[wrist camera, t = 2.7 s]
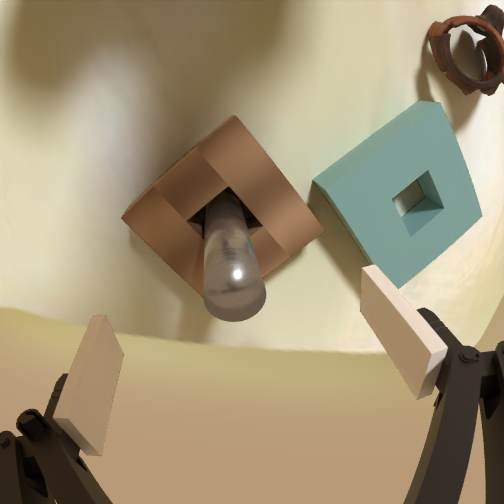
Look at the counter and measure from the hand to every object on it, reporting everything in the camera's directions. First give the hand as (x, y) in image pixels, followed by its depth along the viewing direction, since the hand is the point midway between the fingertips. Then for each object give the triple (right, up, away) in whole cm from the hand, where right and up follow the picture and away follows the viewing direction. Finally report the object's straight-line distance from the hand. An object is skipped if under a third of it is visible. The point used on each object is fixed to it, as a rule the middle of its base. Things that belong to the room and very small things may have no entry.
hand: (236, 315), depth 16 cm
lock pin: (-2, +7, +13) cm, 15 cm away
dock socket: (+16, +9, +15) cm, 24 cm away
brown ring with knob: (+23, +25, +8) cm, 35 cm away
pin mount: (-2, +7, +13) cm, 15 cm away
